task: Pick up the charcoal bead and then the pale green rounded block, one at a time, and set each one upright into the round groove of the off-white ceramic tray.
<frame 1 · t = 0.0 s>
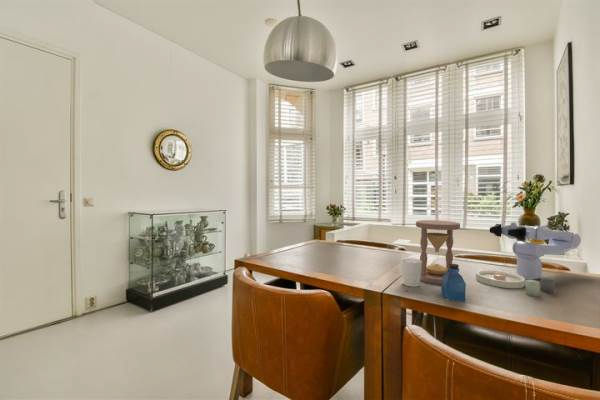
hand: (499, 231, 124), 22 cm above the table, tool horizontal, fingers open, 7 cm apart
perfume bottle: (453, 297, 107), on the table
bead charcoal: (547, 291, 113), on the table
groove tray: (499, 281, 125), on the table
pale green rounded block: (532, 294, 110), on the table
white cup: (411, 284, 121), on the table
hourglass: (436, 278, 129), on the table
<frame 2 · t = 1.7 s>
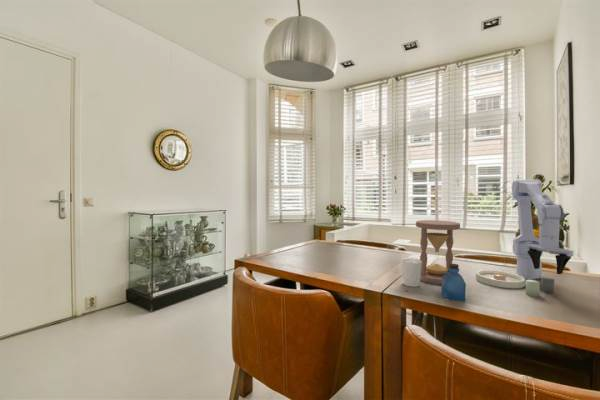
hand: (547, 271, 113), 8 cm above the table, tool pointing down, fingers open, 7 cm apart
nothing on the table moved.
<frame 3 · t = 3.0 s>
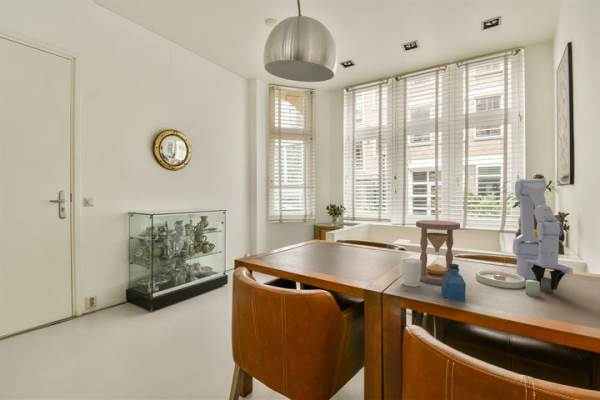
hand: (547, 287, 113), 2 cm above the table, tool pointing down, fingers closed on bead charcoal, 4 cm apart
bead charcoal: (547, 291, 113), on the table, touching gripper
everything else where it was.
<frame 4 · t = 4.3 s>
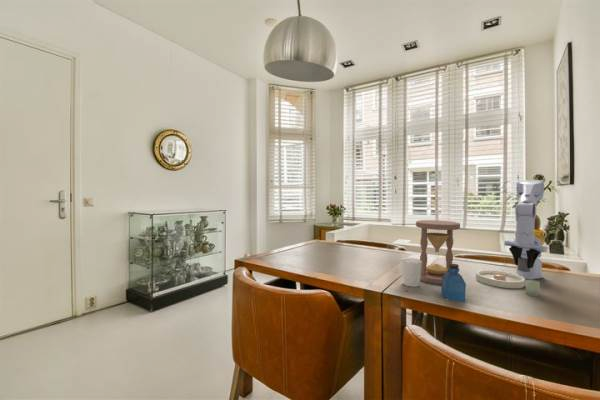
hand: (523, 266, 118), 8 cm above the table, tool pointing down, fingers closed on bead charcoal, 4 cm apart
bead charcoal: (523, 270, 118), point 7 cm above the table, touching gripper
everything else where it was.
when the fingers open (4 cm above the table, at t = 5.8 s): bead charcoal drops 1 cm, resting on groove tray.
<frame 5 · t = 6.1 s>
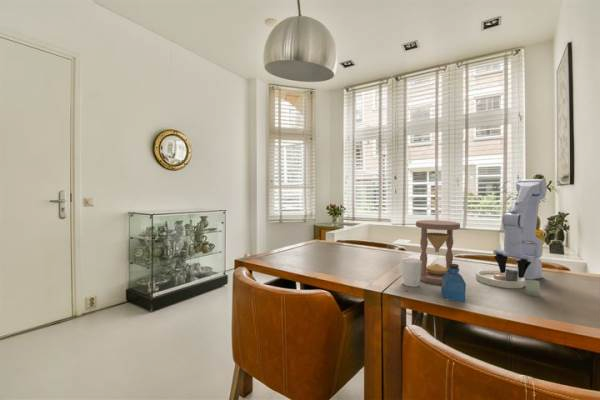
hand: (511, 275, 120), 4 cm above the table, tool pointing down, fingers open, 7 cm apart
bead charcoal: (511, 282, 120), point 1 cm above the table, touching groove tray
everything else where it was.
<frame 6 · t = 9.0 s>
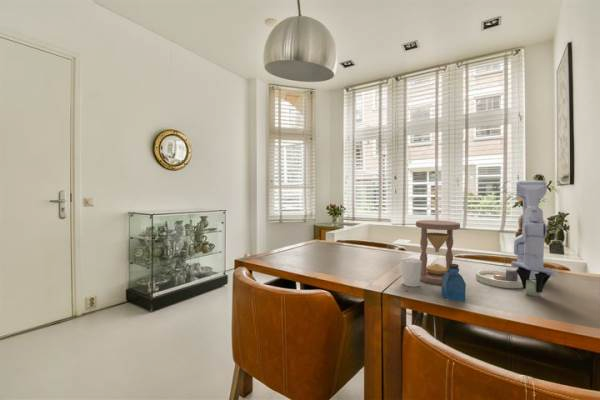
hand: (532, 290, 110), 2 cm above the table, tool pointing down, fingers closed on pale green rounded block, 4 cm apart
pale green rounded block: (532, 294, 110), on the table, touching gripper
everything else where it was.
when the fingers open (4 cm above the table, at t = 12.1 s): pale green rounded block drops 1 cm, resting on groove tray.
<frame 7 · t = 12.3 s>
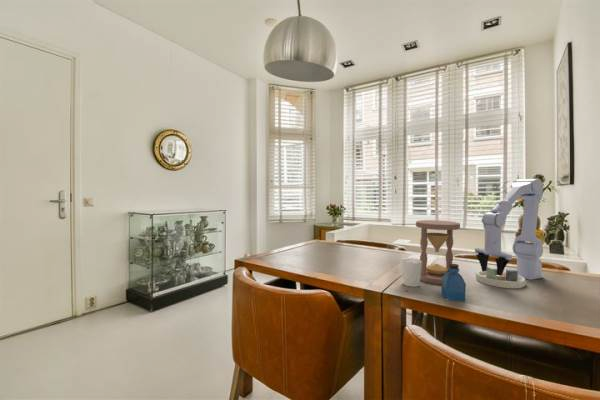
hand: (491, 273, 123), 4 cm above the table, tool pointing down, fingers open, 6 cm apart
pale green rounded block: (491, 280, 123), point 1 cm above the table, touching groove tray
everything else where it was.
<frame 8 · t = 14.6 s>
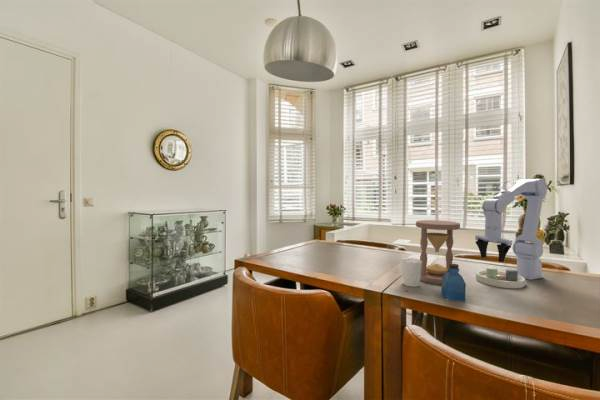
hand: (492, 259, 123), 10 cm above the table, tool pointing down, fingers open, 7 cm apart
nothing on the table moved.
at the end: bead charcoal 0.1 cm from the target spot on the groove tray, point 1.0 cm above the groove tray's base; pale green rounded block 0.1 cm from the target spot on the groove tray, point 1.0 cm above the groove tray's base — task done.
